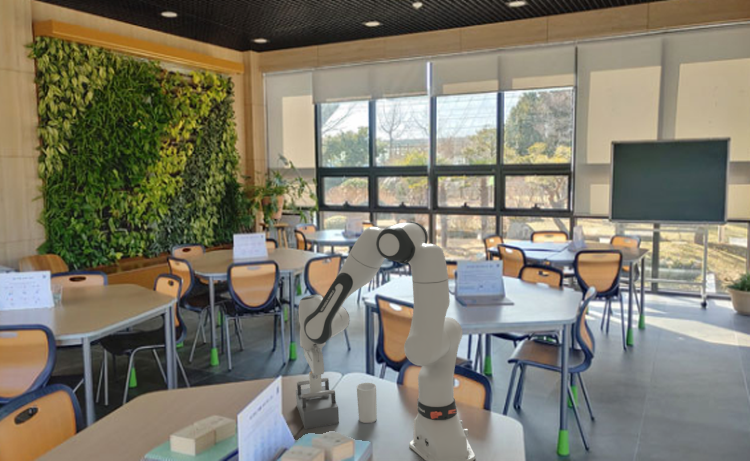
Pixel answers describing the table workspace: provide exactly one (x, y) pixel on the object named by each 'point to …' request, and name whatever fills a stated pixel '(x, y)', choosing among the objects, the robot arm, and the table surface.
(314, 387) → the lever
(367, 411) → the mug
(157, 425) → the table surface
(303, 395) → the grey lever base
